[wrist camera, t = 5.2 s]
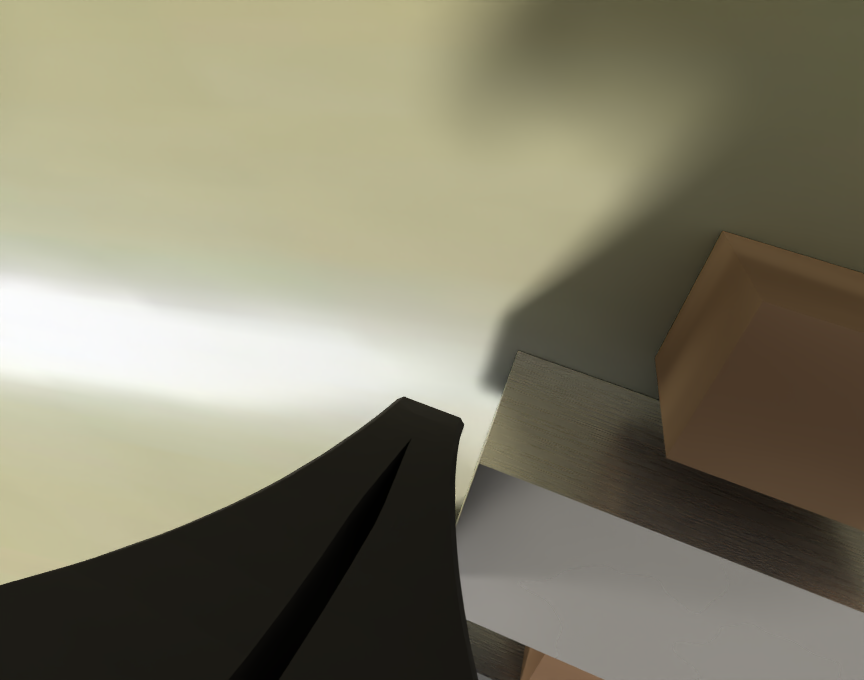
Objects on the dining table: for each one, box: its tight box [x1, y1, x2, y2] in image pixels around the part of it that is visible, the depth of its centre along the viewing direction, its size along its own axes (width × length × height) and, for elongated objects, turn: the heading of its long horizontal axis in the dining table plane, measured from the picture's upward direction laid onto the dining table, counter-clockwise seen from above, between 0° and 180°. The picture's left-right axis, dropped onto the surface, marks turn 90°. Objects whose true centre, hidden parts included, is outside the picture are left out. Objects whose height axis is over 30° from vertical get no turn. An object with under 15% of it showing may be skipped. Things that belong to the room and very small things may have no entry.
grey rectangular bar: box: [456, 351, 864, 680], centre depth 10 cm, size 4×13×4 cm, turn 77°
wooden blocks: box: [520, 231, 864, 680], centre depth 10 cm, size 10×4×3 cm, turn 167°
